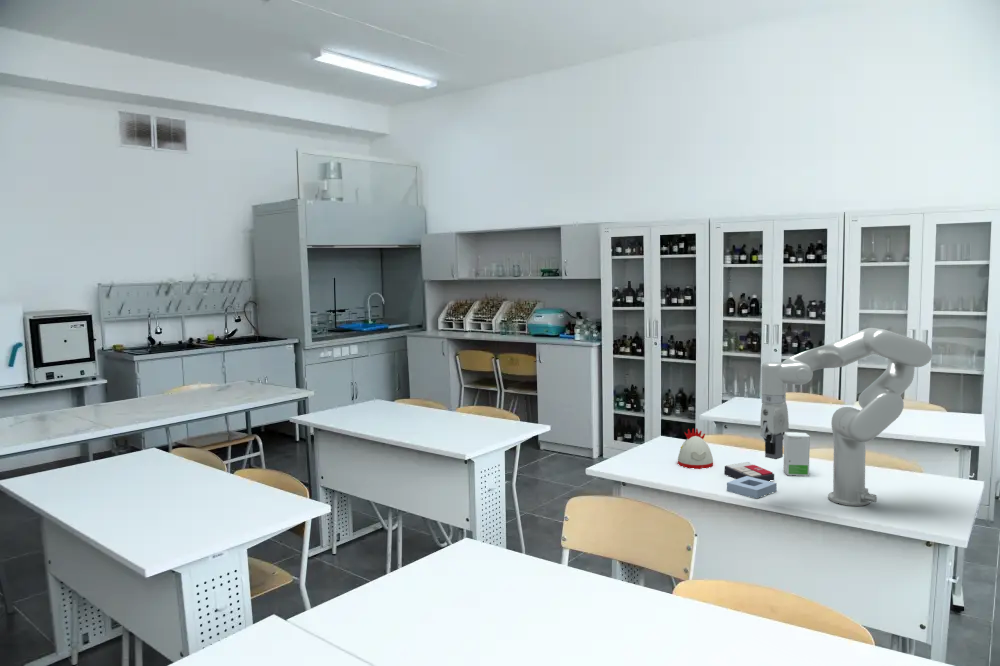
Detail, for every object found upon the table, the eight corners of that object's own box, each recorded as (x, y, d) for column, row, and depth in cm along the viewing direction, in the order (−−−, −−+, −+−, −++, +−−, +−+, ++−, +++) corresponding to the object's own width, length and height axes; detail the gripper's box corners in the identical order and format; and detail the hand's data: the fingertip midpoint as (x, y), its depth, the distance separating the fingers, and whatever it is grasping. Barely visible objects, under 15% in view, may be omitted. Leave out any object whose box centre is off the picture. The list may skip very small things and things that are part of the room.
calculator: (751, 476, 250) (724, 464, 264) (751, 487, 250) (723, 474, 264) (775, 472, 254) (746, 460, 268) (774, 483, 254) (746, 471, 268)
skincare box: (786, 475, 259) (786, 435, 258) (782, 471, 266) (782, 431, 265) (810, 476, 258) (810, 435, 257) (805, 471, 264) (805, 431, 263)
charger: (782, 457, 230) (782, 433, 229) (776, 459, 228) (775, 435, 227) (771, 455, 233) (771, 431, 233) (765, 457, 231) (765, 433, 230)
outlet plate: (776, 491, 242) (776, 483, 241) (756, 498, 234) (756, 490, 234) (746, 483, 251) (746, 475, 251) (726, 490, 244) (726, 482, 244)
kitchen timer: (674, 460, 286) (674, 425, 285) (707, 459, 286) (707, 424, 285) (682, 469, 272) (681, 432, 271) (717, 468, 272) (716, 431, 271)
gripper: (769, 403, 221) (770, 459, 222) (797, 396, 231) (797, 450, 232) (749, 401, 227) (749, 455, 228) (777, 394, 237) (777, 446, 238)
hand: (773, 451), depth 230 cm, fingers closed on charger, 4 cm apart
